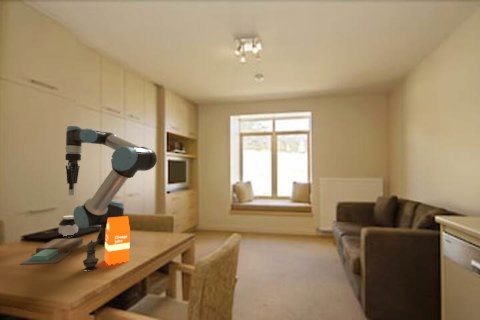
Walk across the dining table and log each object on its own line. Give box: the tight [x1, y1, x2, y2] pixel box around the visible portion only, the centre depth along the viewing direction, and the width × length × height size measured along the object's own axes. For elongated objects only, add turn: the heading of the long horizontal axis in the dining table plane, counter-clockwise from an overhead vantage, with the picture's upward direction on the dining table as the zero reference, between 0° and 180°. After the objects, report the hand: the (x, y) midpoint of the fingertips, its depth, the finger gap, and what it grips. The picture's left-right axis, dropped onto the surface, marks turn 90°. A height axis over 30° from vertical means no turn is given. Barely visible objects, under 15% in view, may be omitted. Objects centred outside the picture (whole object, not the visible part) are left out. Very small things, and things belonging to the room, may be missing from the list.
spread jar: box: [58, 214, 79, 237], centre depth 168 cm, size 12×11×12 cm
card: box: [31, 249, 58, 261], centre depth 127 cm, size 6×10×2 cm, turn 10°
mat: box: [20, 252, 71, 266], centre depth 125 cm, size 14×14×1 cm
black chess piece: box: [82, 239, 99, 272], centre depth 114 cm, size 6×6×12 cm
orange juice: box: [104, 215, 131, 266], centre depth 125 cm, size 8×9×20 cm
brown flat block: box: [35, 237, 84, 254], centre depth 141 cm, size 14×18×3 cm
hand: (71, 195), depth 155 cm, fingers closed
